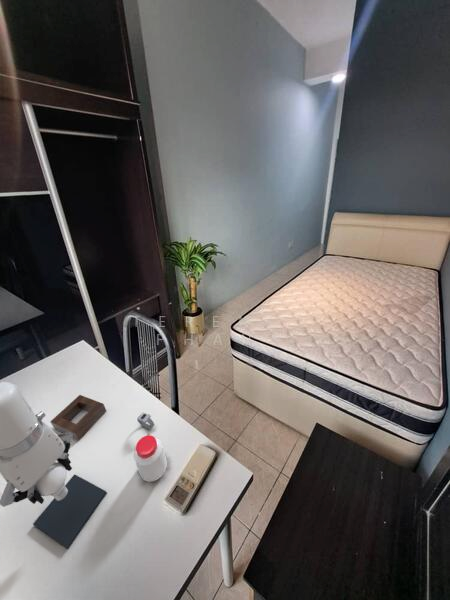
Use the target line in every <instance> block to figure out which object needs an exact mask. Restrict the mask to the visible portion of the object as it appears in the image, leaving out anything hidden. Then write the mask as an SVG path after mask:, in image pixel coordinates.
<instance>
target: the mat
mask: <svg viewBox="0 0 450 600" xmlns="http://www.w3.org/2000/svg"><path fill="white" fill-rule="evenodd" d="M65 486H66V488H67V489H68V493H67V495H66V496H65V497H64V498H63V499H62V500H59V501H57V500H56V499H55V498H54V497H53V499H52V500H51V501H50V503H49V504H48V505H47V506H46V508H44V510H42V512H41V513H40V514H39V516H38V517H37V518H36V519H35V521H34V522H33V523H32V525H33V526H34V528H37V529H38V530H39V531H41V532H42V533H44V534H46V535H47V536H48V537H50V538H51V539H53V540H54V541H55V542H57V543H58V544H59V545H61V546H63V547H64V548H65V549H67V550H69V549H70V548H71V546H72V544H73V543H74V542H75V540H76V539H77V537H78V536H79V534H80V533H81V532H82V530H83V528H85V526H86V524H87V523H88V521H89V520H90V519H91V517H92V516H93V514H94V513H95V511H96V510H97V509H98V507H99V505H100V504H101V503H102V501H103V500H104V498H105V497H106V495H107V494H108V492H107V491H106V490H105V489H103V488H101V487H99V486H98V485H96V484H93V483H92V482H90V481H88V480H86V479H84V478H83V477H80V476H79V475H77V474H73V475H72V477H71V478H70V479H69V480H68V481H67V483H65Z"/></svg>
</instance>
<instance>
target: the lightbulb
mask: <svg viewBox="0 0 450 600" xmlns="http://www.w3.org/2000/svg"><path fill="white" fill-rule="evenodd" d="M67 471H68V470H66V468H65V466H64V465H63V464H61V463H58V461H55V462H54V464H53V465H52V466H51V467H50V468H49V469H48V470H47V471H46V472H45V473H44V474H43V475H42V476H41V477H40V478H39V479H38V481H37V482H36V483H35V484H34V490H35V491H37V492H38V493H39V494H40V495H41V497H48V496H51V497H53V499H54V498H55V499H56V500H57V501H59V500H62V499H63V498H64V497H65V496H66V495H67V493H68V489H67V488H66V486H65V485H66V483H65V482H66V479H67V475H68V472H67Z"/></svg>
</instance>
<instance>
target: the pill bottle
mask: <svg viewBox="0 0 450 600" xmlns="http://www.w3.org/2000/svg"><path fill="white" fill-rule="evenodd" d="M133 460H134V462H135V465H136V467H137V471H138V473H139V475H140V477H141V479H142V480H143V481H145V482H149V483H150V482H151V483H152V482H155V481H158V480H159V479H160V478H161V477H162V476H163V475H164V474H165V473H166V471H167V466H168V460H167V457H166V453H165V450H164V447H163V443H162V441H161V440H160V439H159V438H158V437H155V436H153V435H150V434H148V435H144V436H142V437H141V438H140V439H138V441H137V442H136V445H135V448H134V451H133Z"/></svg>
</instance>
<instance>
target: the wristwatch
mask: <svg viewBox="0 0 450 600" xmlns="http://www.w3.org/2000/svg"><path fill="white" fill-rule="evenodd" d="M151 417H152V415H150V414H148V413H146V412H142V413H141V414H140V415H139V416H138V417H137V422H138V423H139V424H140V425H141V427H143V428H145V429H147V430H152V429H153V428H154V427H155V422H154V421H153V420H152V419H151Z"/></svg>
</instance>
